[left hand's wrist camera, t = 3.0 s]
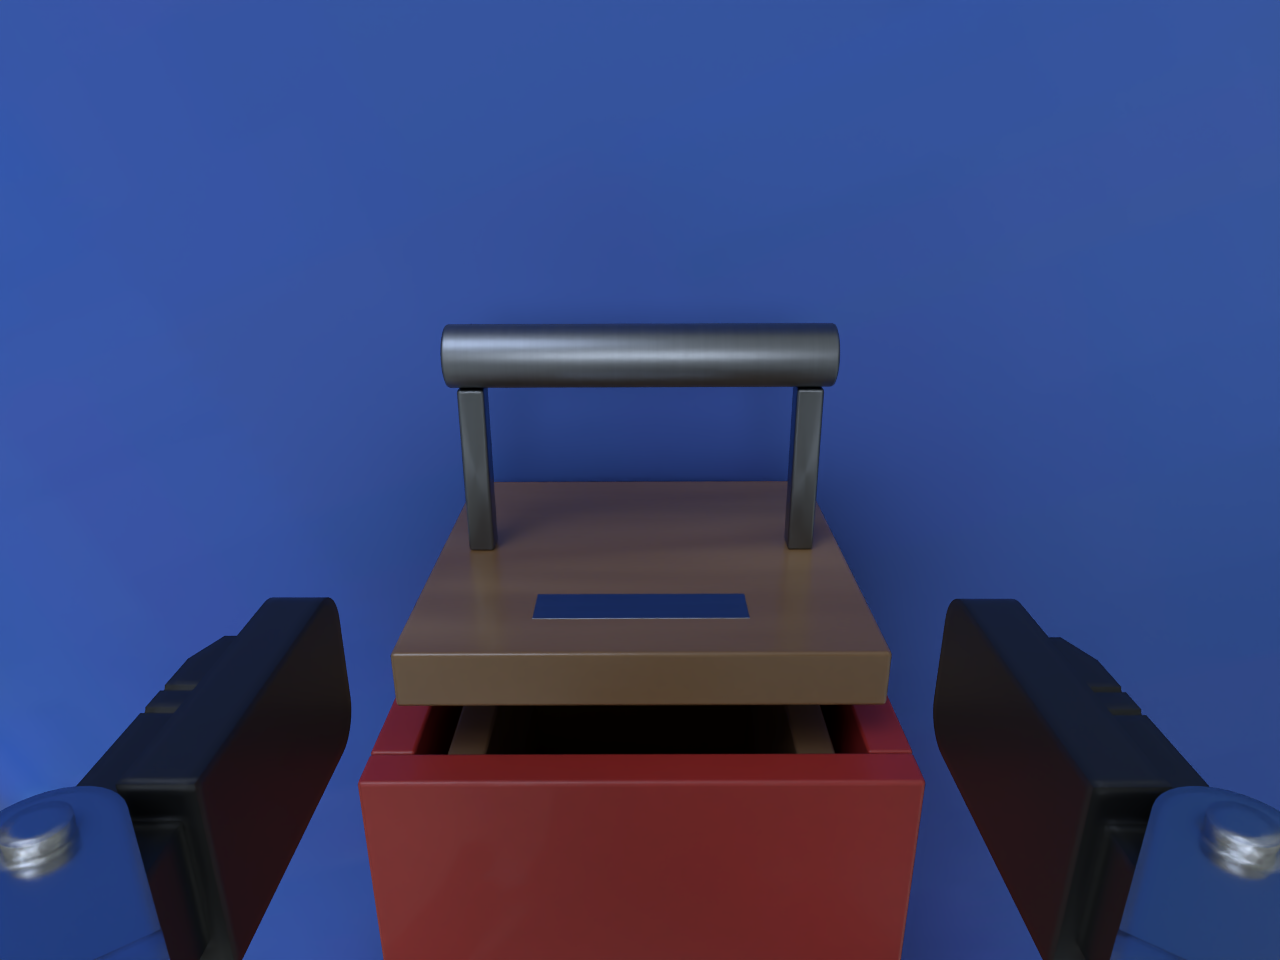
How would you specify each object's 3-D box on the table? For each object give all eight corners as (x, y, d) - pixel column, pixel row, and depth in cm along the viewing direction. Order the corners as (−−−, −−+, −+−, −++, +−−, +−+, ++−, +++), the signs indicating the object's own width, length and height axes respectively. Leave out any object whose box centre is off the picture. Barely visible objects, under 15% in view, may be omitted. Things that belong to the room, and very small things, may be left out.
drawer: (460, 293, 23) (355, 379, 15) (820, 292, 23) (925, 378, 15) (509, 932, 31) (459, 1228, 23) (775, 931, 31) (826, 1228, 23)
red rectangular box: (465, 537, 27) (354, 782, 16) (817, 536, 27) (928, 781, 16) (501, 979, 33) (439, 1352, 23) (783, 978, 33) (847, 1351, 23)
